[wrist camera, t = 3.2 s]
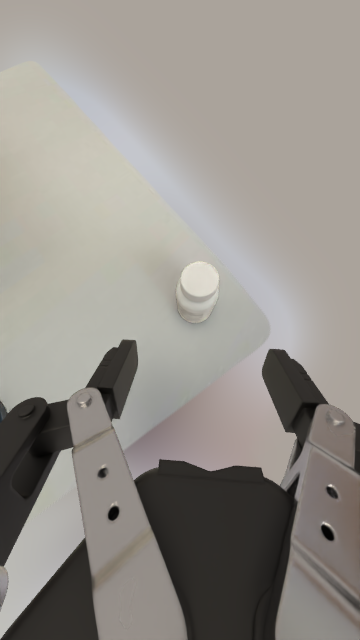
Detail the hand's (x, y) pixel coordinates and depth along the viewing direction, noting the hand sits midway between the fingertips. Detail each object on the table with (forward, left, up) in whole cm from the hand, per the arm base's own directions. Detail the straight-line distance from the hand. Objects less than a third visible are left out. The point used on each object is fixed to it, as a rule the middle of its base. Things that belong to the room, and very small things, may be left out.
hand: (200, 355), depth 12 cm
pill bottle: (+3, -6, -11) cm, 13 cm away
